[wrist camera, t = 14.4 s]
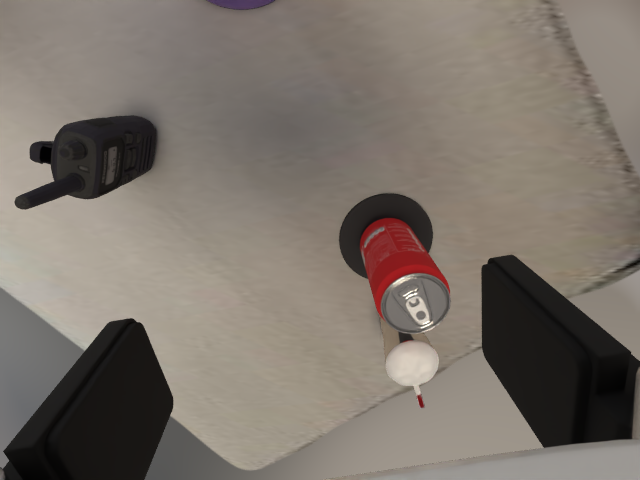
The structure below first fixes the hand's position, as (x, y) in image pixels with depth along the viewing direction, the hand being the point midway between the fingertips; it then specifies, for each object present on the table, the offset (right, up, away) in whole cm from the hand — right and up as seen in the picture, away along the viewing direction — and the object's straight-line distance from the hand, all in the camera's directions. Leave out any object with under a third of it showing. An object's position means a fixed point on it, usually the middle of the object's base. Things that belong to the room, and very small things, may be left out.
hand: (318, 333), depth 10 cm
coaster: (+6, +3, +27) cm, 28 cm away
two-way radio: (-17, +11, +23) cm, 31 cm away
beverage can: (+6, +3, +27) cm, 28 cm away
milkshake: (+8, -5, +30) cm, 32 cm away
